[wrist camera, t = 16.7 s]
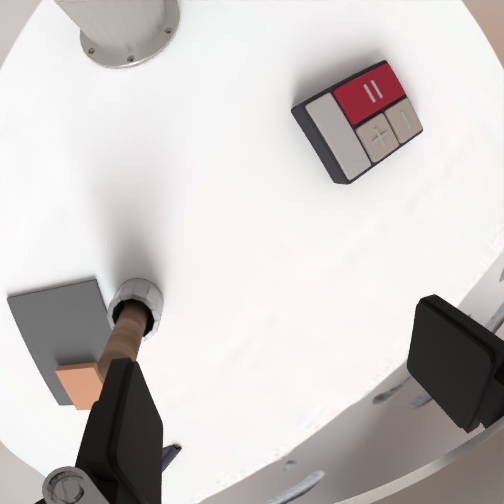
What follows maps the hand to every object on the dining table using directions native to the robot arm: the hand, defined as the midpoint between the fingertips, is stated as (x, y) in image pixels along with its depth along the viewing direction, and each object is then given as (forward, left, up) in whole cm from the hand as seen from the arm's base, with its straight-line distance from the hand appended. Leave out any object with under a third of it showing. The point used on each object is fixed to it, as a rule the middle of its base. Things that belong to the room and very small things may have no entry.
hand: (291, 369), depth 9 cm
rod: (+9, -13, -28) cm, 32 cm away
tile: (+16, -25, -28) cm, 41 cm away
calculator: (-9, +19, -30) cm, 37 cm away
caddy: (+9, -12, -29) cm, 33 cm away
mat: (+15, -25, -29) cm, 42 cm away
